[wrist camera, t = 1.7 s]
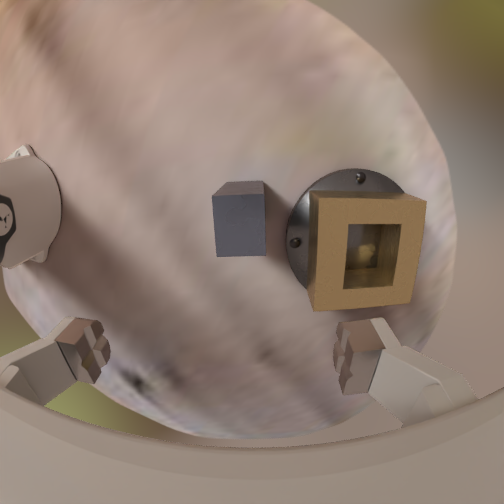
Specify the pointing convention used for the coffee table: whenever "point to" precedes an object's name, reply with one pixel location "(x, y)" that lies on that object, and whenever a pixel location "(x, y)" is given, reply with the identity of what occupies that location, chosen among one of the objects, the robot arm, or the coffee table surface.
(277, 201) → the coffee table surface
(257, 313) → the coffee table surface
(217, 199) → the grey rectangular block
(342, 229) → the rosette plate
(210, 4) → the coffee table surface
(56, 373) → the robot arm
